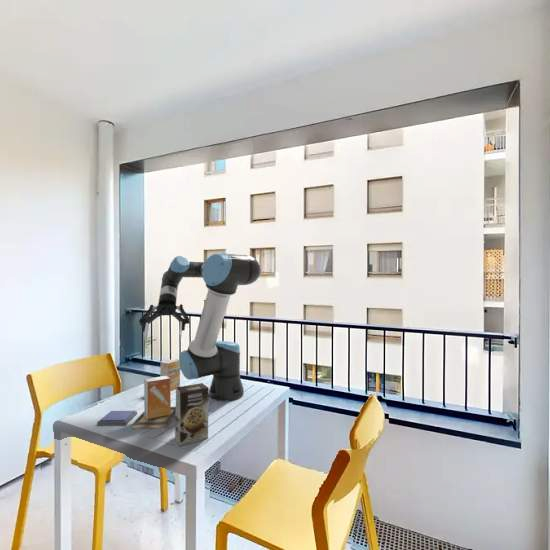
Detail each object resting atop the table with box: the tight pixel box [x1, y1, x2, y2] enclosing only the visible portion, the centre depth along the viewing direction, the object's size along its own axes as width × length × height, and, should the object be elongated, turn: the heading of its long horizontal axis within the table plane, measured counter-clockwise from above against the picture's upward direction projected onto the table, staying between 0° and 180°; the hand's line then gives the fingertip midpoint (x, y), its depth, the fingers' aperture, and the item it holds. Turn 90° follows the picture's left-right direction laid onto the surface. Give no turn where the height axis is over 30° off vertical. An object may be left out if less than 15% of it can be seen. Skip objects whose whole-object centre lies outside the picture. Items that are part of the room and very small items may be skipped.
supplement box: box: [159, 358, 181, 392], centre depth 146 cm, size 8×5×13 cm, turn 154°
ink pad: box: [96, 410, 138, 426], centre depth 114 cm, size 10×9×2 cm
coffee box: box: [174, 382, 210, 446], centre depth 101 cm, size 9×6×16 cm
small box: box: [143, 376, 172, 419], centre depth 115 cm, size 8×6×13 cm
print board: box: [131, 406, 176, 429], centre depth 114 cm, size 12×14×2 cm
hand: (162, 336), depth 128 cm, fingers open, 13 cm apart
